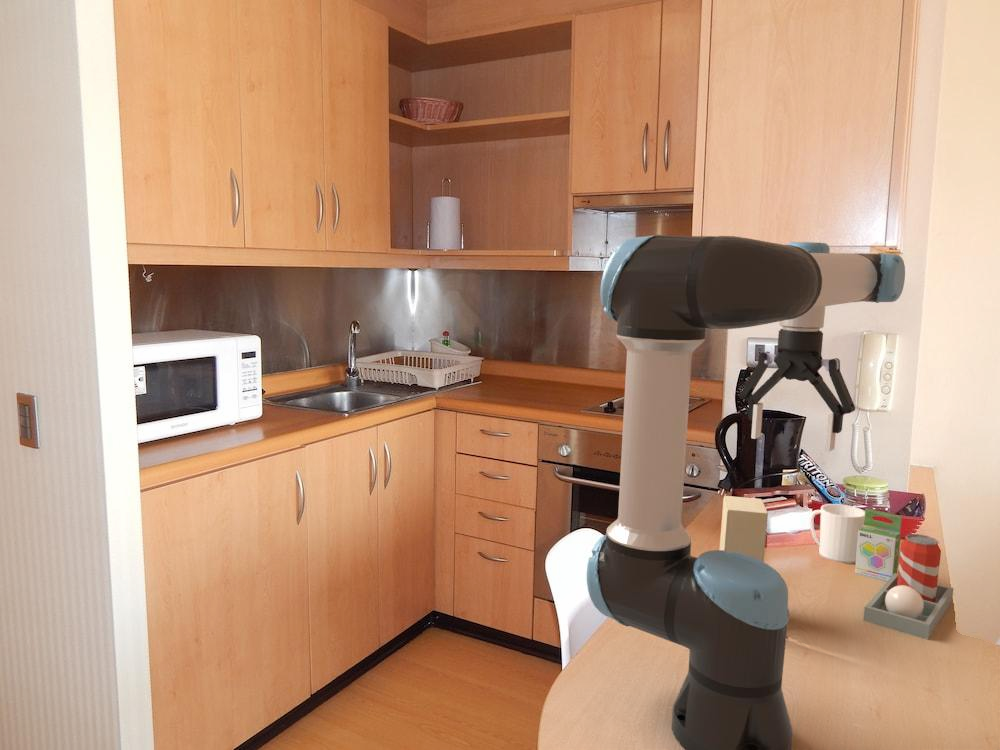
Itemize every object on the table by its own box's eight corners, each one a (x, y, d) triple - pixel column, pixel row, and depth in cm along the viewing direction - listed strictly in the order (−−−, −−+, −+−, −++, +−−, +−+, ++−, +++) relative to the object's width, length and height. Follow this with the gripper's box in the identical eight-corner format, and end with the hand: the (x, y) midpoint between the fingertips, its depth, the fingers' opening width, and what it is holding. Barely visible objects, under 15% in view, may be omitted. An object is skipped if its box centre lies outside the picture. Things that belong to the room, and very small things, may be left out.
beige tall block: (762, 632, 131) (772, 512, 128) (717, 627, 133) (726, 508, 130) (757, 612, 139) (766, 498, 136) (714, 607, 141) (722, 495, 138)
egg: (917, 630, 132) (921, 597, 131) (879, 619, 135) (882, 587, 135) (925, 618, 136) (929, 586, 135) (888, 608, 140) (891, 576, 139)
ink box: (853, 577, 156) (859, 512, 154) (859, 571, 159) (865, 508, 157) (891, 587, 152) (898, 520, 150) (896, 581, 155) (903, 515, 153)
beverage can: (934, 612, 139) (941, 547, 137) (894, 603, 142) (901, 540, 140) (935, 599, 144) (942, 537, 142) (896, 591, 147) (902, 530, 146)
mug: (857, 551, 170) (861, 506, 168) (866, 567, 161) (871, 519, 160) (803, 546, 172) (807, 501, 171) (809, 561, 164) (813, 513, 162)
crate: (927, 644, 129) (929, 625, 128) (862, 624, 135) (864, 606, 135) (951, 604, 144) (953, 587, 144) (892, 589, 150) (894, 573, 150)
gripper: (880, 333, 136) (869, 451, 139) (742, 322, 152) (735, 429, 155) (868, 335, 130) (857, 459, 133) (726, 324, 146) (719, 435, 149)
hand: (791, 443), depth 144 cm, fingers open, 13 cm apart
